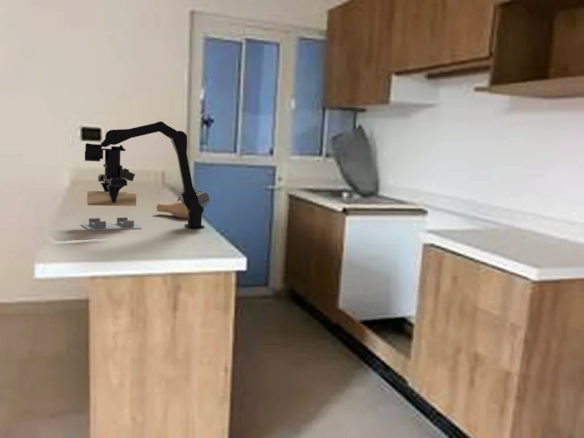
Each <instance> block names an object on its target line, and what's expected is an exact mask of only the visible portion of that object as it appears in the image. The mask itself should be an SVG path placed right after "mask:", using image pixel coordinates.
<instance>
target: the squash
mask: <svg viewBox="0 0 584 438" xmlns="http://www.w3.org/2000/svg"><path fill="white" fill-rule="evenodd" d="M156 212H158V213H161V212H162V213H168V214H171V215H172V216H174V217H177V218H181V219H188V209H187V207H186V206H185V205H184V204H183V203H182V202H181V201H174V202H171V203H162V202H159V203H157V205H156Z"/></svg>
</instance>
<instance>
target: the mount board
mask: <svg viewBox="0 0 584 438" xmlns="http://www.w3.org/2000/svg"><path fill="white" fill-rule="evenodd" d="M80 226H81V227H83V228H85V230H87V231H89V232H96V231H97V232H99V231H121V230H122V231H123V230H141V229H143V228H142V227H141V226H139V225H137V224H135V220H133V219H132V220H131V219H130V220H129V219H128V217H127V216H126V217H125V216H124V217H116V222H111V223H108V222H106V221H105V220H104V221H103V220H102V221H101V217H95V218H94V217H91V218H89V217H88V223H84V224H83V223H81V224H80Z"/></svg>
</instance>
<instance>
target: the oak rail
mask: <svg viewBox="0 0 584 438" xmlns="http://www.w3.org/2000/svg"><path fill="white" fill-rule="evenodd" d="M86 192H87V193H86V194H87V197H86V199H87V200H86V205H87V206H100V207H101V206H102V207H103V206H108V207H109V206H115V207H116V206H117V207H119V206H120V207H121V206H122V207H125V206H126V207H135V206H137V192H135V191H119V193H118V196H117V199H116V202H115V203H112V200H111V197H110V194H109V192H105V191H104V190H103V191H98V190H94V191H92V190H91V191H90V190H87V191H86Z"/></svg>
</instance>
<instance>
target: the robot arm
mask: <svg viewBox="0 0 584 438" xmlns="http://www.w3.org/2000/svg"><path fill="white" fill-rule="evenodd" d="M158 132H159V133H161V134H163V135H164V136H165V137H167V138H169V139H170V141H171V143H172V147H173V148H174V151H175V153H176V157H177V161H178V163H177V164H178V168H179V174H180V179H181V184H182V191H180V192H179V197H180V196H181V202H182V203H183V204H184V205H185V206H186V207H187V209H188V218H187V223H185V224H184V226H185V227H187V228H190V229H196V228H198V229H200V228H205V225H202V222H203V221H202V219H203V213H204V211H205V207H202V206H201V205H200V204H199V200H198V197H197V195H196V190H195V189H194V186H193V179H192V176H191V170H190V164H189V159H188V154H187V153H188V136H187V133H186V132H184V131H182V130H176V129H175V128H174V127H171V126H169V125H168V124H166V123H165V122H164V121H157V122H154V123H149V124H145V125H140V126H136V127H131V128H123V129H122V128H120V129H110V130H107V131H106V133H105V136H104V139H103V141H101V142H100V144H98V143H89V142H86V143H85V151H84V162H101V160H104V164H103V165H102V166H103V168H104V174H102V173H101V174H99V175H98V176H97V182H100V185H101V187H102V190H103V191H105V192H109V194H110V197H111V200H112V203H115V202H116V199H117V196H118V193H119V192H120V190H121V189H122V188H124V187H127V186H128V182H129V181H130V182H133V181H134V179H135V176H136V174H135V173H134V172H131V171H130V170H129V168H128V169H127V168H125V167H124V168H123V165H121V152H125V151H126V148H124V147H123V145H122V144H121V143H124V142H125V141H127V140H130V139H132V138H137V137H142V136H146V135H149V134H154V133H158ZM119 144H120V145H119ZM115 145H119V146H115ZM109 146H111V147H110V148H107V147H109Z"/></svg>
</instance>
